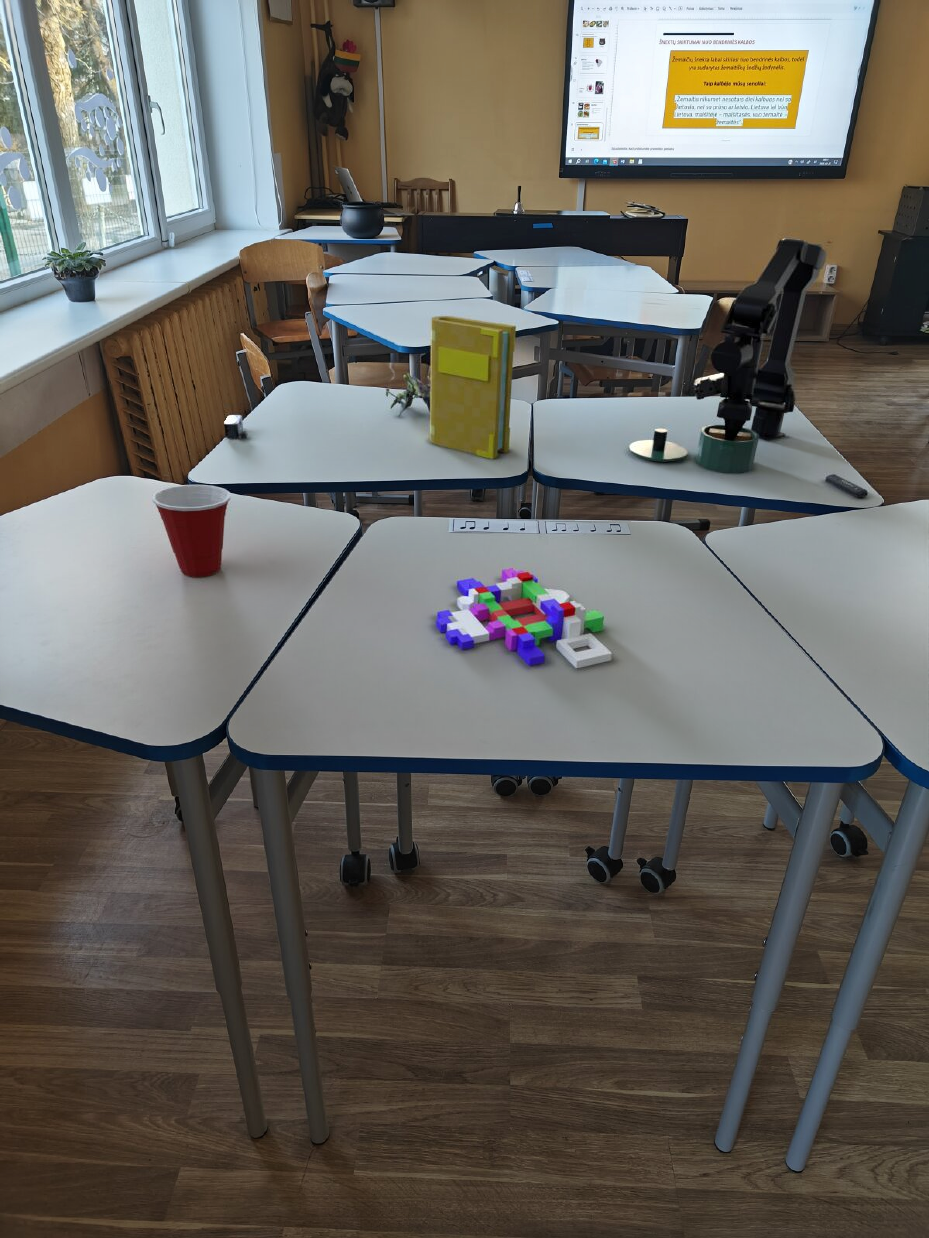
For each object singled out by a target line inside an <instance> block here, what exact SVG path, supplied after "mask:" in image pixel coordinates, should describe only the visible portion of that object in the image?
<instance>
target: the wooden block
mask: <svg viewBox="0 0 929 1238" xmlns="http://www.w3.org/2000/svg"><path fill="white" fill-rule="evenodd" d="M709 436H712V437H714V438H718V439H722V440H725V430H719V429H711V428H710V431H709ZM750 438H751V433H745V432H739V433H738V434H737V436H736V437H735V439H734V440H733V441H748V440H750Z"/></svg>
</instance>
